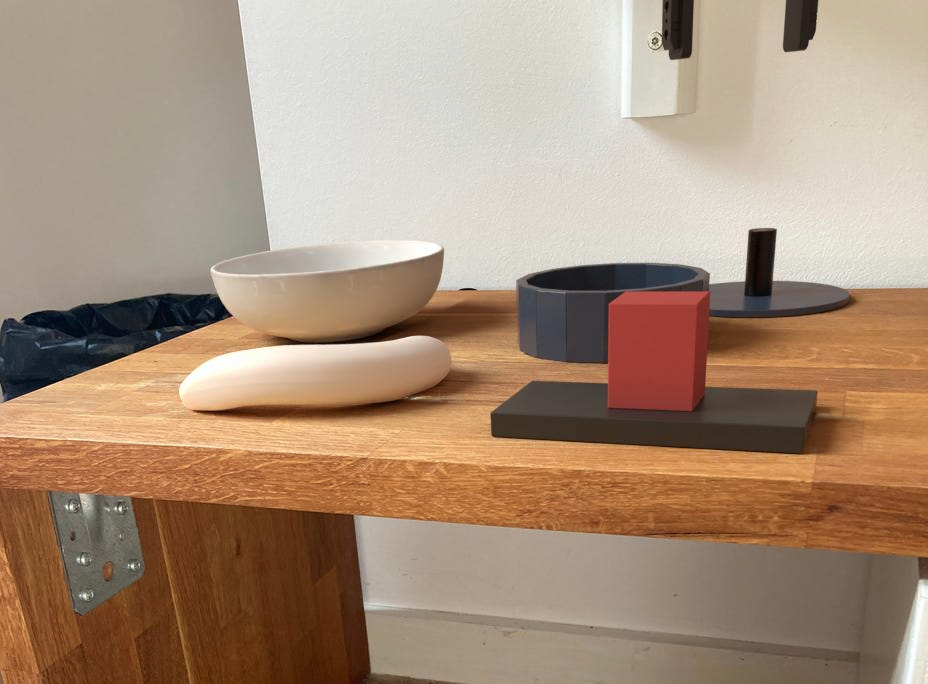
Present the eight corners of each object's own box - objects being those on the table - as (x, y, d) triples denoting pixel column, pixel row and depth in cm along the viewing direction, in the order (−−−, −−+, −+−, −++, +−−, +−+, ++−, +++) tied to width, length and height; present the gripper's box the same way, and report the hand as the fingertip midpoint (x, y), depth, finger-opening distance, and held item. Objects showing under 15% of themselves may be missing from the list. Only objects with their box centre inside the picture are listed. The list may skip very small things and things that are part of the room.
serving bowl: (300, 310, 108) (292, 240, 104) (483, 314, 99) (480, 238, 96) (174, 353, 91) (159, 271, 88) (380, 362, 83) (373, 272, 79)
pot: (718, 331, 85) (722, 261, 83) (684, 372, 73) (688, 292, 71) (550, 329, 91) (549, 263, 88) (493, 366, 79) (490, 292, 76)
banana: (163, 427, 69) (217, 376, 82) (446, 426, 68) (455, 376, 81) (152, 352, 66) (209, 313, 79) (445, 351, 65) (455, 311, 78)
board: (815, 414, 62) (818, 390, 61) (802, 454, 56) (805, 427, 55) (532, 402, 69) (531, 380, 68) (490, 436, 62) (489, 412, 61)
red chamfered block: (705, 394, 62) (710, 291, 59) (692, 412, 59) (698, 303, 56) (623, 391, 64) (625, 291, 61) (607, 408, 61) (608, 303, 58)
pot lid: (853, 293, 97) (862, 217, 94) (842, 326, 84) (851, 239, 81) (686, 293, 103) (689, 221, 99) (652, 323, 90) (655, 242, 87)
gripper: (671, -270, 58) (663, 59, 65) (897, -273, 60) (864, 44, 68) (621, -230, 64) (619, 65, 72) (826, -234, 67) (803, 52, 74)
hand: (738, 55), depth 70 cm, fingers open, 8 cm apart
